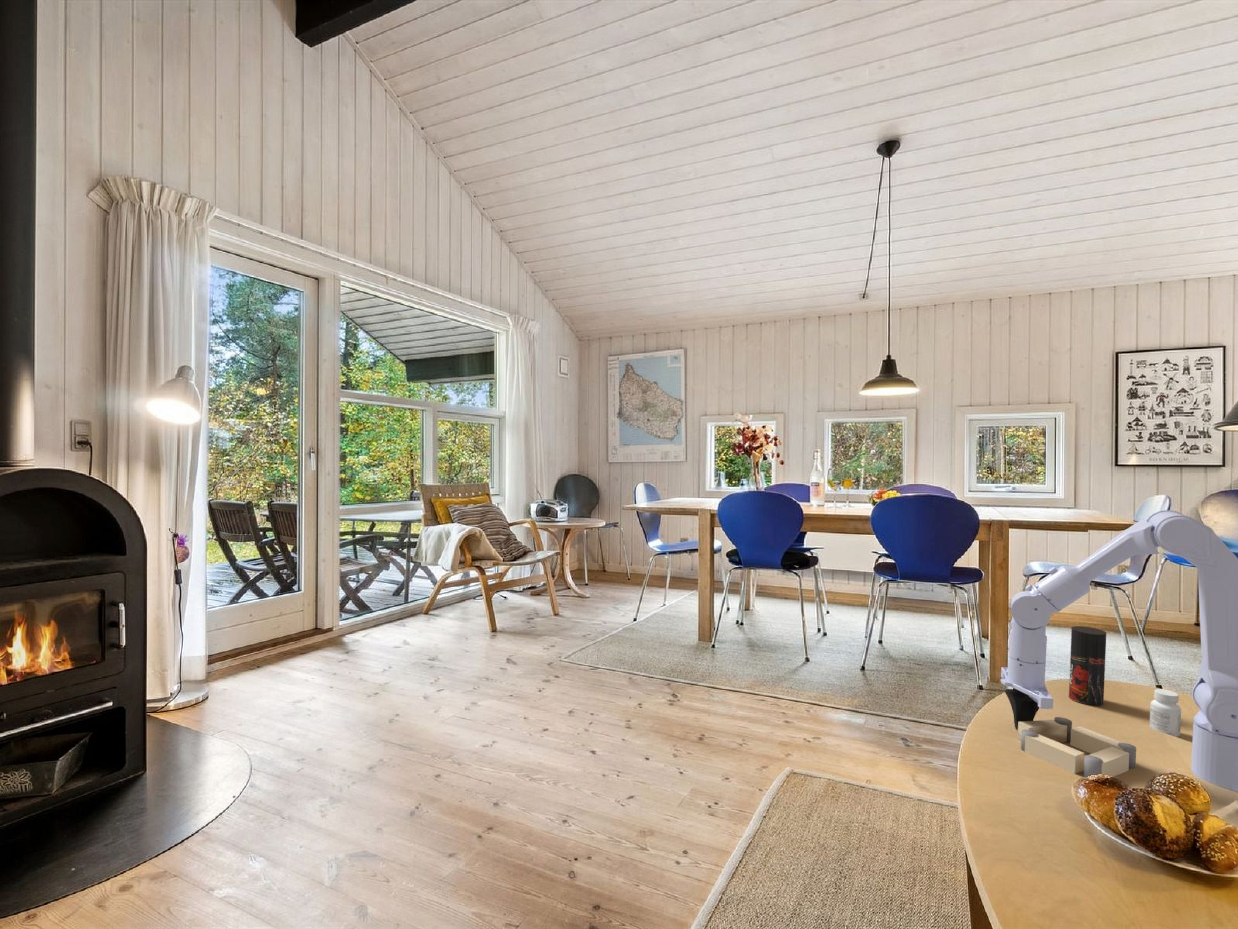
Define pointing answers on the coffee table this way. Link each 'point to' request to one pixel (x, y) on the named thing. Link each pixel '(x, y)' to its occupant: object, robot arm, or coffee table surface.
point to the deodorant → (1087, 665)
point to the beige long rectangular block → (1049, 728)
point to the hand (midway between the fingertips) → (1023, 731)
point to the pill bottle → (1165, 712)
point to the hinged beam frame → (1102, 760)
